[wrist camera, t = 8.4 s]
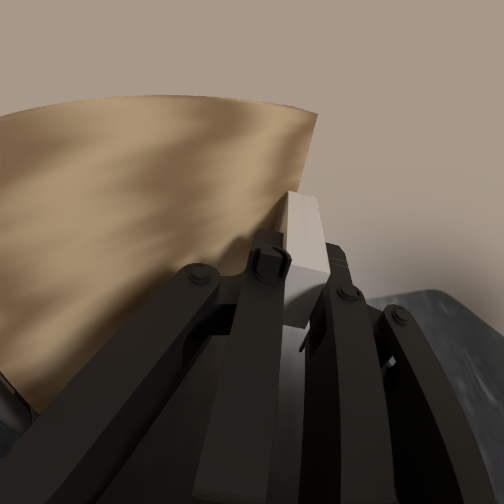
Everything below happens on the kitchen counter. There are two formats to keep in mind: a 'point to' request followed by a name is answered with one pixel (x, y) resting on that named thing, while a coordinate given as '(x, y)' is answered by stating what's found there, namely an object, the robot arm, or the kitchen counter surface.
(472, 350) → the kitchen counter surface
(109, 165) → the gate
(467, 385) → the kitchen counter surface
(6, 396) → the wall stub
